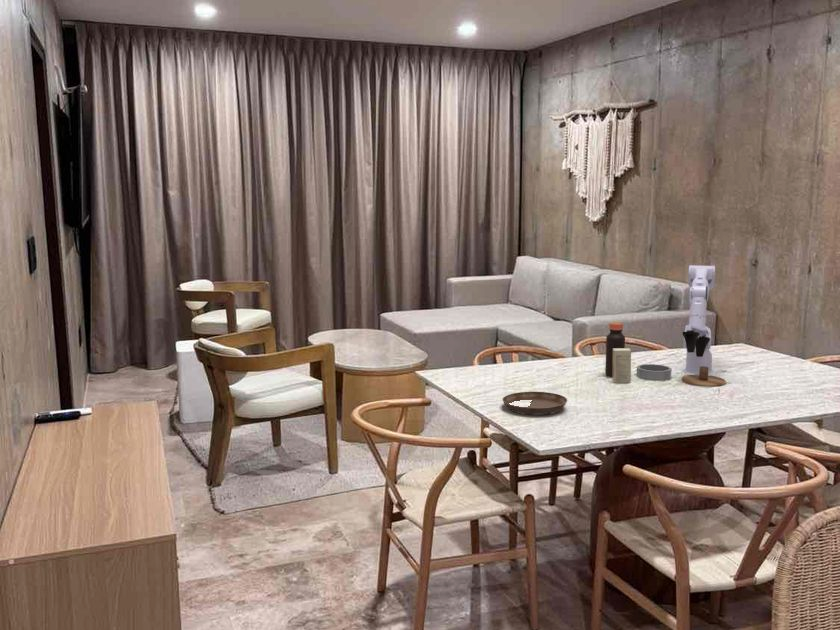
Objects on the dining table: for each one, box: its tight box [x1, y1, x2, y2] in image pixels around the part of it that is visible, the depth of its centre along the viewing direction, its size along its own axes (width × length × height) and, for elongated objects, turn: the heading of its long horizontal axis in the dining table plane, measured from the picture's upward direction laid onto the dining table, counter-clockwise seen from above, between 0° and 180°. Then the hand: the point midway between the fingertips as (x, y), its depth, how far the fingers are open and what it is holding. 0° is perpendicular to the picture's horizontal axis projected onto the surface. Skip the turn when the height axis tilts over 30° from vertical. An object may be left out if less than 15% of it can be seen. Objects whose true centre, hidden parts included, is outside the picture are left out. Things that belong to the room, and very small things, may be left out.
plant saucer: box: [502, 391, 568, 416], centre depth 252 cm, size 21×21×3 cm
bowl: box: [635, 363, 673, 382], centre depth 291 cm, size 12×12×4 cm
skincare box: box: [611, 347, 632, 384], centre depth 285 cm, size 6×4×12 cm
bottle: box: [604, 322, 626, 378], centre depth 294 cm, size 7×7×20 cm
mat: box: [674, 378, 732, 389], centre depth 283 cm, size 14×14×1 cm
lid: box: [681, 366, 726, 388], centre depth 283 cm, size 15×15×5 cm
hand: (695, 354), depth 280 cm, fingers open, 7 cm apart
